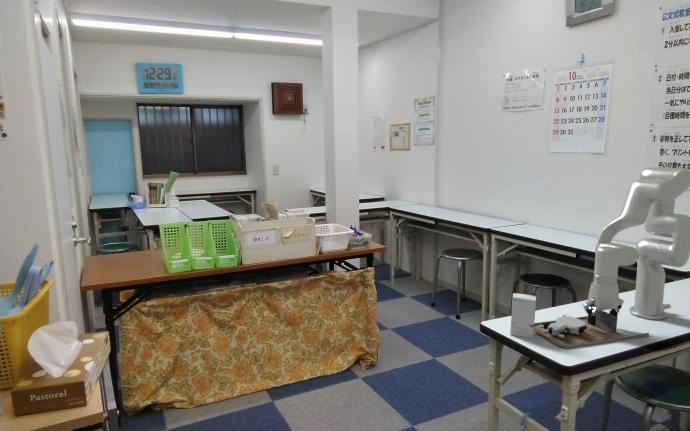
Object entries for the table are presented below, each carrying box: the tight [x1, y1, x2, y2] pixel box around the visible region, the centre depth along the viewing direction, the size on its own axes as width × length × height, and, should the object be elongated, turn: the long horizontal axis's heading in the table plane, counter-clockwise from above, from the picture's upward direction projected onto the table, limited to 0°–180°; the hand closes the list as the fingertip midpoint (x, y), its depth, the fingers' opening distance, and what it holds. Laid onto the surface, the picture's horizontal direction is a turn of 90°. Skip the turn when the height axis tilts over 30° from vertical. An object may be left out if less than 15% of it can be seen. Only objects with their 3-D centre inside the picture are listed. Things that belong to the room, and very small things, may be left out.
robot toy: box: [539, 314, 592, 338], centre depth 164 cm, size 12×4×15 cm
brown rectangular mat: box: [533, 309, 625, 349], centre depth 165 cm, size 28×18×6 cm, turn 104°
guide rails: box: [534, 315, 650, 350], centre depth 167 cm, size 36×20×1 cm, turn 104°
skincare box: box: [509, 292, 537, 339], centre depth 165 cm, size 8×6×15 cm
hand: (602, 323), depth 168 cm, fingers open, 9 cm apart
